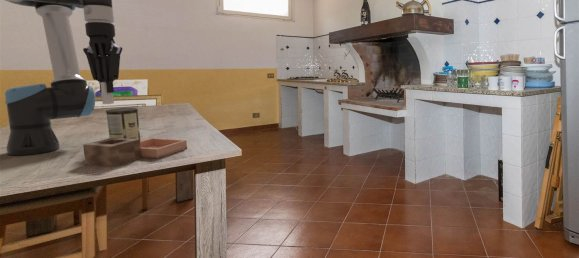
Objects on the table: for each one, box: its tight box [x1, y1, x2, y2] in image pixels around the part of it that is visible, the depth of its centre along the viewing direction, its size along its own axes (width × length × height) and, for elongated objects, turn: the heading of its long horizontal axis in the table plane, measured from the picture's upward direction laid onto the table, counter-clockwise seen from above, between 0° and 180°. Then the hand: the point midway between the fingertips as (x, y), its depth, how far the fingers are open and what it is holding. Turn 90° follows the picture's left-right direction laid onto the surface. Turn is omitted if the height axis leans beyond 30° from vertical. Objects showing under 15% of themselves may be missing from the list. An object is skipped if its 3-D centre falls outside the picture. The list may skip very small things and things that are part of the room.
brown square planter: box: [82, 138, 142, 168], centre depth 106 cm, size 11×11×6 cm
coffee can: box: [105, 107, 141, 140], centre depth 124 cm, size 10×10×14 cm
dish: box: [140, 137, 188, 160], centre depth 117 cm, size 15×15×3 cm
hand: (108, 103), depth 104 cm, fingers closed
